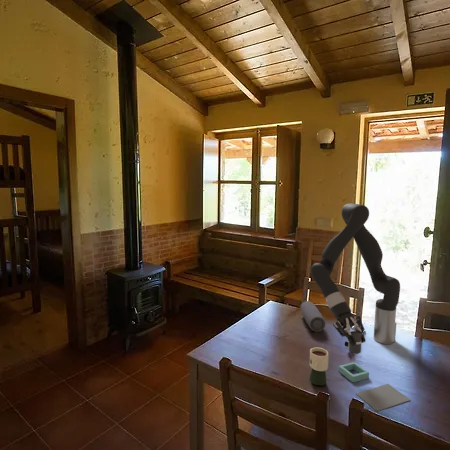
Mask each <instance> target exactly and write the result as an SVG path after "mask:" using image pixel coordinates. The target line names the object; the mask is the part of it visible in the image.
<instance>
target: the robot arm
mask: <svg viewBox="0 0 450 450" xmlns="http://www.w3.org/2000/svg"><path fill="white" fill-rule="evenodd" d="M341 217H342V219H343V221H344V223H345V224H346V225H345V226H344V228H343V229H342V230H341V231H340V232H339V233H338V234H336V235H335V236H334V237H333V238H331V239H330V241H329V242H328V243H327V245H326V246H325V248H324V249H323V251H322V253H321V261H320V262H319V263H318V262H316V263H313V264H312V265H311V267H310V270H309V271H310V274H311V277H312V278H313V281H314V282H315V283H316V285H317V286H318V288H319V289H320V292H321V293H322V294H323V295H322V296H323V297H324V299H325V301H326V303H327V306H328V308H329V310H330V311H331V313H332V316H333V318H335V319H336V321H335V322H334V323H333V324H332V325H333V327H334V328H335V330H336V331H337V333H339V335H340V336H341V337H342V338H343V337H345V338H347V340H349V342H350V344H351V345H352V346H354V345H356V342H355V340H354V338H353V336H352V335H351V330H352V331H357V332H359V333H361V334H362V336H361V344H364V343H365V342H366V338H365V335H364V334H363V333H362V330H364V329H365V326H364V324H363V322H362V318H361V316H359V315H357V316H354V315H353V314H352V309H351V308H350V306H349V304H348V302H347V300H346V299H345V297H344V295H343V294H342V293H341V291H340V289H339V288H338V286H337V284H336V283H335V281H333V279H332V278H331V274H332V272H333V269H334V267H335V264H336V262H337V261H338V259H339V257H340V255H341V254H342V252H343V250H344V249H345V248H346V246H348V244H349V243H350V242H351V240H352V239H354V242H355V244H356V246H357V248H358V252H359V253H360V255H361V257H362V259H363V261H364V264H365V266H366V268H367V270H368V273H369V276H370V279H371V283H372V286H373V288H374V289H375V291H376V292H378V293H380V294H383V298H379V299H377V300H376V301H375V311H374V326H373V340H374V341H376V342H377V343H379V344H384V345H391V344H393V343H395V342H396V335H397V333H396V332H397V322H396V314H397V306H398V304H399V300H400V292H401V284H400V281H399V279H397V278H396V277H393V276H390V275H387V274H386V272H385V271H384V269H383V267H382V262H383V255H384V254H383V251H382V249H381V245H380V244H379V242H378V240H377V239H376V237H375V236H374V235H373V234H372V233H371V232H370V231H369V230H368V228H366V225H365V224H366V223H367V221H368V219H369V217H370V210H369V208H368V207H367V206H366V205H364V204H359V203H351V202H350V203H349V202H348V203H346V204H345V205H343V207H342V208H341ZM364 331H365V330H364Z"/></svg>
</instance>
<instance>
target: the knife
mask: <svg viewBox="0 0 450 450" xmlns="http://www.w3.org/2000/svg"><path fill="white" fill-rule="evenodd" d="M364 332H365V328H364V330H362V334H363V333H364ZM344 346H345V348H349V340H348V339H347V340H345V342H344Z"/></svg>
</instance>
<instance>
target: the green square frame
mask: <svg viewBox="0 0 450 450" xmlns="http://www.w3.org/2000/svg"><path fill="white" fill-rule="evenodd" d="M352 370H355V371H356V372H357V373H355V374H353V373H352V372H351V371H352ZM338 372H339V373H340V374H341V375H343V376H344V377H345V378H346V379H348V381H350V382H351V383H356V382H359V381H364V380H368V379H369V378H370V372H369V371H368V370H367V369H366V368H364V367H362V366H361V365H359V364H358V363H356V362H355V361H352V362H349V363H346V364H340V365H339V366H338Z"/></svg>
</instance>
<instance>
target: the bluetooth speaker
mask: <svg viewBox="0 0 450 450" xmlns="http://www.w3.org/2000/svg"><path fill="white" fill-rule="evenodd" d="M299 310H300V311H301V314H302V316H303V319H304V320H305V323H306V324H307V325H308V326H309V328H310V329H311V330H312V331H313V332H322V331H323V330H324V329H325V327H326V321H325V318H324V316H323V315H322V313H321V312H320V311H319V308H317V306H316V305H315V303H313V302H311V301H309V300H307V301H306V300H305V301H303V302H302V303H301V305H300V307H299Z"/></svg>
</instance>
